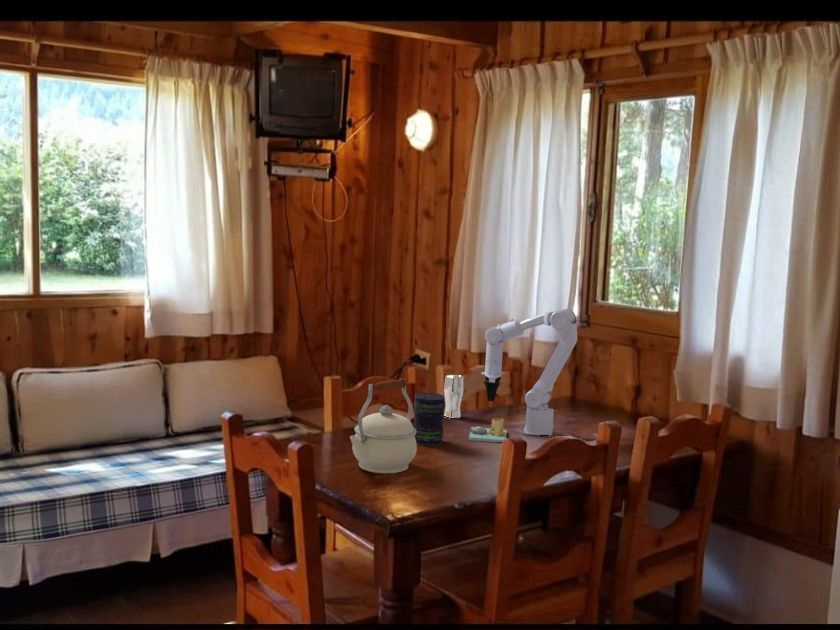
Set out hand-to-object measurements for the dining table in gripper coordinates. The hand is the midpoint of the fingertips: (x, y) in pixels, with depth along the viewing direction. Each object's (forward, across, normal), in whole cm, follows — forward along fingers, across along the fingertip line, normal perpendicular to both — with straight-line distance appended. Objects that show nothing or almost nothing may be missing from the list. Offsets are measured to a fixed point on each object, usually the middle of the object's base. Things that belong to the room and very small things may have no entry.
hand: (491, 398), depth 291 cm
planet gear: (+8, +16, +3) cm, 18 cm away
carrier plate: (+9, +16, 0) cm, 19 cm away
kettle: (+10, +61, -29) cm, 68 cm away
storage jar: (+10, +29, -19) cm, 36 cm away
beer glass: (+10, -8, -14) cm, 19 cm away
